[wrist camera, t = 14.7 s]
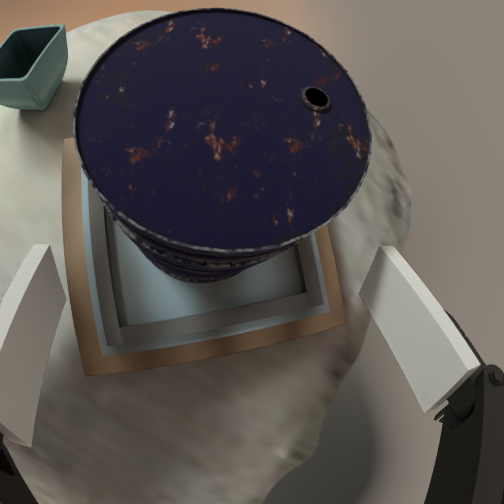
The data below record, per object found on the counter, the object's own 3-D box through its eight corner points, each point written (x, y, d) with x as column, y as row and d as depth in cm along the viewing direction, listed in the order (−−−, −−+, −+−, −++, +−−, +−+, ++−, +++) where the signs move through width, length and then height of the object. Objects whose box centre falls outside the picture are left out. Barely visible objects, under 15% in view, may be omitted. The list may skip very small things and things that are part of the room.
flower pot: (81, 70, 29) (66, 22, 20) (51, 124, 27) (24, 80, 19) (32, 70, 28) (13, 28, 19) (2, 121, 26) (-27, 83, 17)
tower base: (97, 366, 25) (71, 387, 18) (74, 156, 28) (51, 119, 20) (327, 321, 31) (368, 326, 24) (284, 130, 33) (309, 92, 26)
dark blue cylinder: (141, 292, 21) (61, 278, 6) (132, 166, 22) (91, 18, 8) (274, 275, 23) (406, 236, 9) (254, 156, 24) (330, 19, 10)
